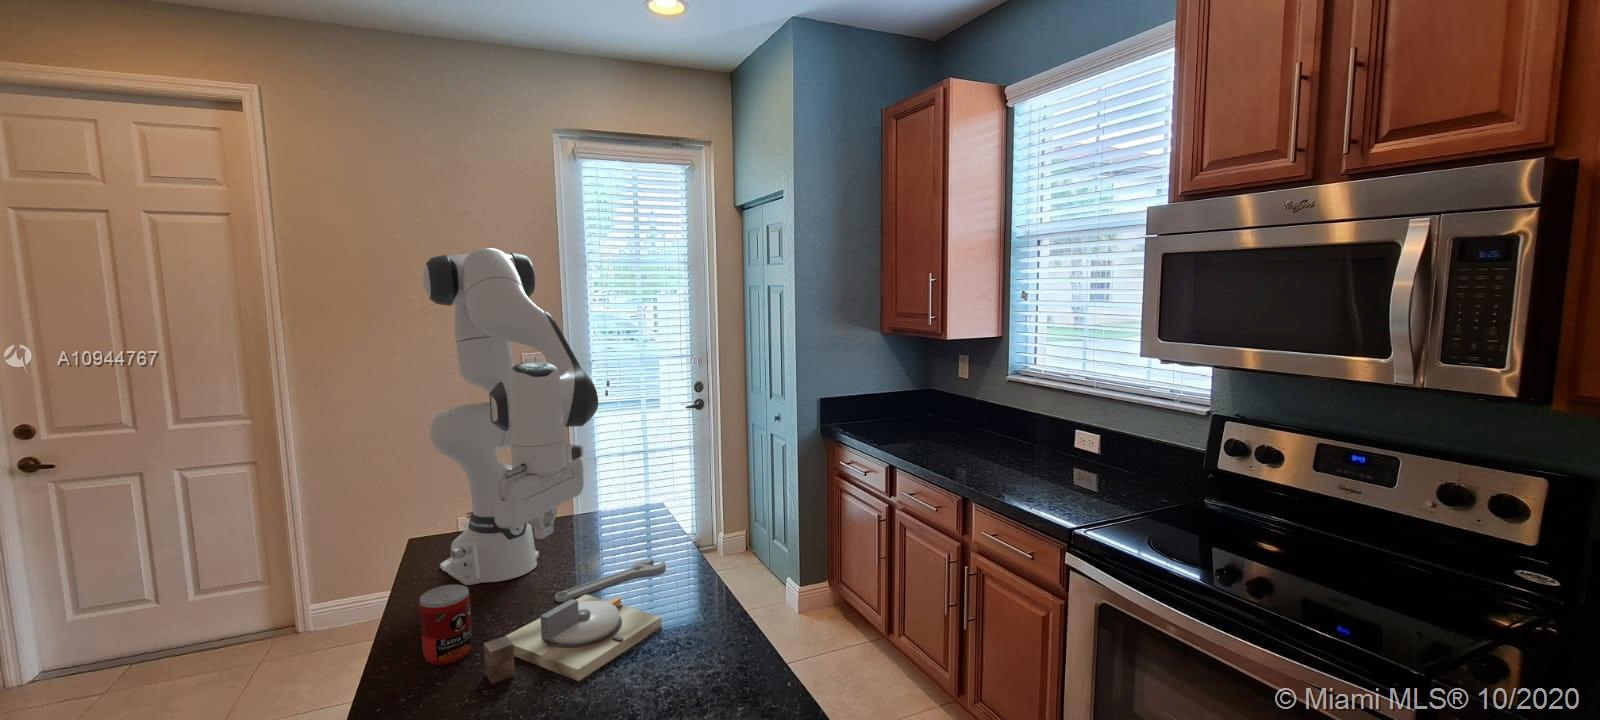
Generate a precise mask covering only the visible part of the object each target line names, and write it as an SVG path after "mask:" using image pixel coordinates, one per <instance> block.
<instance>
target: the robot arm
mask: <svg viewBox="0 0 1600 720" xmlns="http://www.w3.org/2000/svg"><path fill="white" fill-rule="evenodd" d="M536 284H537V274H536V269H535V267H534V265H533V262H532V261H531V259H530V258H529V257H528V256H526V255H524V254H520V253H515V252H510V253H509V254H508V253H506V252H504V251H502V250H500V249H498V248H494V247H482V248H478V249H476V250H473V251H472V252H470V253H464V254H463V253H462V254H454V255H447V254H442V255H438V256H434V257H431V258H430V259H429V260H428V261H427V262H426V263H425V267H424V269H423V272H422V286H423V289H424V290H425V292H426V294H427V295H428V298H429V300H431V302H433V303H435V304H436V305H440V306H450V307H451V306H452V305H455V309H454V337H455V345H456V353H457V359H458V360H457V361H458V369H459V373H460V376H461V377H462V378H463V380H464V381H465V382H467V383H469V384H471V385H473V386H476V387H479V388H482V389H484V390H485V391H486V392H487V394H488V395H489V397H488V398H489V401H484V402H476V403H469V404H468V403H467V404H460V405H457V406H453V407H450V408H447V409H444V410H440V411H438V412H437V413H436V414H435V416H434V417H433V419H432V421H431V423H430V429H429V436H430V440H431V443H432V444H433V446H434V447H435V449H436V450H437V451H438V452H439V453H440V454H442V455H443V456H446V457H448V458H450V459H452V460H453V461H454V462H456V464H457V465H459V466H460V468H461V469H462V471H464V473H465V475H466V477H467V481H468V484H469V489H470V491H469V492H470V497H471V506H472V511H471V512H466V513H465V515H468V516H466V519H468V520H469V521H468V526H467V528H466V529H465V530H464V531H463V532H462V533H461V534H460V535H458V536H457V537H456V538H455V539H454V540H453V541H452V543H451V546H450V557H449V558H447V559H446V560H444V561H442V562H441V563H440V564H439V569H440V568H441V569H442V570H441V569H440V570H441V571H442V572H444V571H445V573H446V572H447V573H448V574H447V573H446V574H447V575H448V576H451V577H452V578H453V579H455V580H457V581H458V580H459V582H460V583H462V584H463V585H464V586H465V585H466V586H470V585H476V584H480V583H481V584H482V583H494V582H495V583H497V582H501V581H502V582H504V581H508V580H513V579H515V578H516V579H517V578H519V577H522V576H524V575H526V574H528V573H530V572H532V571H533V570H534V569H535V568H536V567H537V566H538V562H537V559H538V558H539V557H540V552H539V551H538V550H536V545H535V539H537V540H543V539H545V538H546V537H548V536H549V535H551V534H553V533H554V523H555V520H556V517H557V514H558V509H557V508H558V507H559V506H562V504H565V503H566V502H568V501H570V500H572V499H574V498H576V497H578V496H580V495H581V494H582V491H583V489H584V486H585V485H584V481H585V480H584V479H585V478H584V477H585V474H584V464H583V463H584V462H583V460H582V457H583V456H584V447H583V446H582V445H578V444H573V443H567V436H566V435H567V434H566V432H565V430H564V428H569V427H570V428H571V427H575V428H576V427H583V426H584V425H586V424H587V423H588V422H589V421H590V420H591V419H592V418H593V417H594V415H595V414H596V412H597V411H598V409H599V397H598V393H597V389H596V386H595V384H594V382H593V381H592V379H591V378H590V377H589V375H588V374H587V373H586V372H585V371H584V370H583V368H582V366H581V365H580V363H579V361H578V360H577V359H578V358H577V357H576V356H575V354H574V352H573V350H572V348H571V347H570V344H569V343H568V341H567V339H566V338H565V336H564V334H563V332H562V331H561V328H559V325H558V323H557V322H556V321H555V319H554V317H553V316H552V315H551V314H550V313H549V312H547V311H545V310H543V309H541V307H539V306H537V305H536V304H535V303H534V302H533V301H532V300H531V299H530V297H531V296H532V295H533V294H534V291H535V287H536ZM511 342H512V343H516V344H521V345H525V346H528V347H531V348H534V349H536V350H537V351H539V352H540V353H541V354H542V355H543V356H544V358H545V360H546V362H544V361H526V362H520V363H517V364H515V361H514V357H513V351H512V344H511ZM509 448H510V454H511V464H510V463H509V464H508V463H505V462H501V461H499V460H498V457H497V451H500V450H503V449H509ZM533 533H534V534H533ZM534 538H535V539H534Z"/></svg>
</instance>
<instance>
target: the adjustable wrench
mask: <svg viewBox="0 0 1600 720" xmlns="http://www.w3.org/2000/svg"><path fill="white" fill-rule="evenodd" d="M654 562H655V559H653V558H649V559H642V560H640V561H637V562H634V563H633V564H632V566H631V567H630V568H628V569H625V570H623V571H620V572H616V573H613V574H611V575H607V576H604V577H602V578H598V579H595V580H592V581H589V582H587V583H584V584H583V583H582V584H581V585H577V586H574V587H571V588H568V589H565V590H561V591H559V592H557V593H556V594H555V596H554V597H555V602H558V603H562V602H563V603H564V602H567V601H568V600H570V599H574V598H575V599H576V598H577V597H578V598H579V597H582V596H584V595H588V594H589V593H592V592H595V591H598V590H601V589H604V588H606V587H610V586H612V585H616V584H618V583H621V582H624V581H627V580H629V579H633V578H638V577H642V576H651V575H656V574H660V573H662V572H664V571H665V570H666V561H665V560H663V561H662V562H660V563H658V564H655V563H654ZM653 564H654V565H653Z"/></svg>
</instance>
